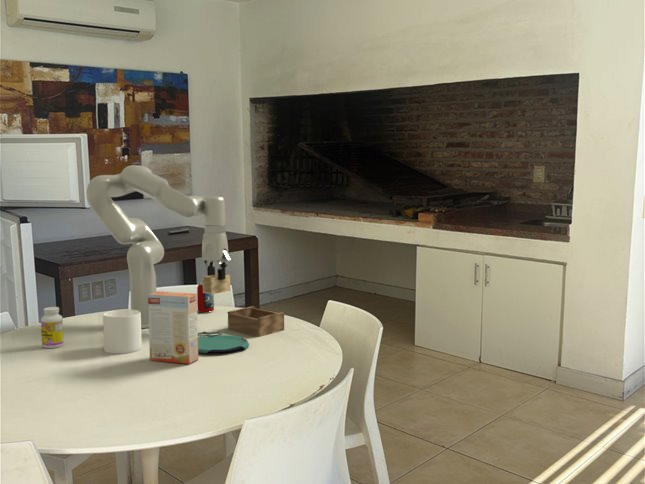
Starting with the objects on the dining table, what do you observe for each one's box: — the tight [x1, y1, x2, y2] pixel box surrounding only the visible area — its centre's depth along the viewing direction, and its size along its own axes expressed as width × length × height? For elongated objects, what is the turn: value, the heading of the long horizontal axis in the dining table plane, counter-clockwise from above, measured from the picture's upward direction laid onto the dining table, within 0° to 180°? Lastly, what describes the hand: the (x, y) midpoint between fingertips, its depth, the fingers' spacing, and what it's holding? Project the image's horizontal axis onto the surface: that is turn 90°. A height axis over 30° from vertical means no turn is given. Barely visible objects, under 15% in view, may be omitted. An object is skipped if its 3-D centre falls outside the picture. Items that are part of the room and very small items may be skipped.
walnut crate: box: [227, 305, 286, 337], centre depth 229 cm, size 13×17×7 cm
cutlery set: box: [198, 331, 250, 354], centre depth 211 cm, size 20×30×2 cm, turn 27°
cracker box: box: [148, 291, 199, 365], centre depth 191 cm, size 14×6×21 cm, turn 71°
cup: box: [102, 308, 143, 355], centre depth 203 cm, size 12×12×12 cm
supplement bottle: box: [40, 306, 64, 349], centre depth 207 cm, size 7×7×13 cm
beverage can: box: [196, 281, 215, 313], centre depth 259 cm, size 7×7×12 cm
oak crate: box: [202, 273, 231, 295], centre depth 231 cm, size 9×5×6 cm, turn 141°
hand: (216, 278), depth 231 cm, fingers closed on oak crate, 5 cm apart
